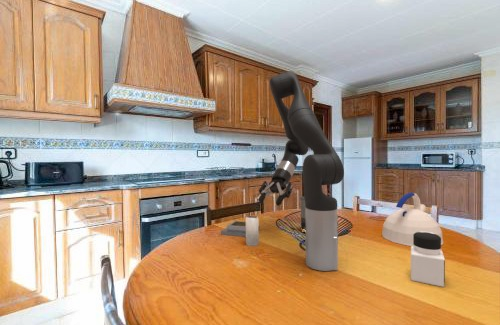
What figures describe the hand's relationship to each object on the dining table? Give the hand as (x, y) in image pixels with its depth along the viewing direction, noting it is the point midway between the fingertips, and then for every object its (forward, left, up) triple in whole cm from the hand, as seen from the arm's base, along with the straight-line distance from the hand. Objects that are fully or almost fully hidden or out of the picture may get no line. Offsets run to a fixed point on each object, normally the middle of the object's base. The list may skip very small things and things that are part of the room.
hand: (268, 203), depth 105 cm
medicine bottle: (-49, +21, -14) cm, 55 cm away
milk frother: (-18, -15, -14) cm, 28 cm away
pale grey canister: (+4, +10, -14) cm, 17 cm away
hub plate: (+14, -3, -14) cm, 20 cm away
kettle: (-53, -15, -14) cm, 57 cm away
